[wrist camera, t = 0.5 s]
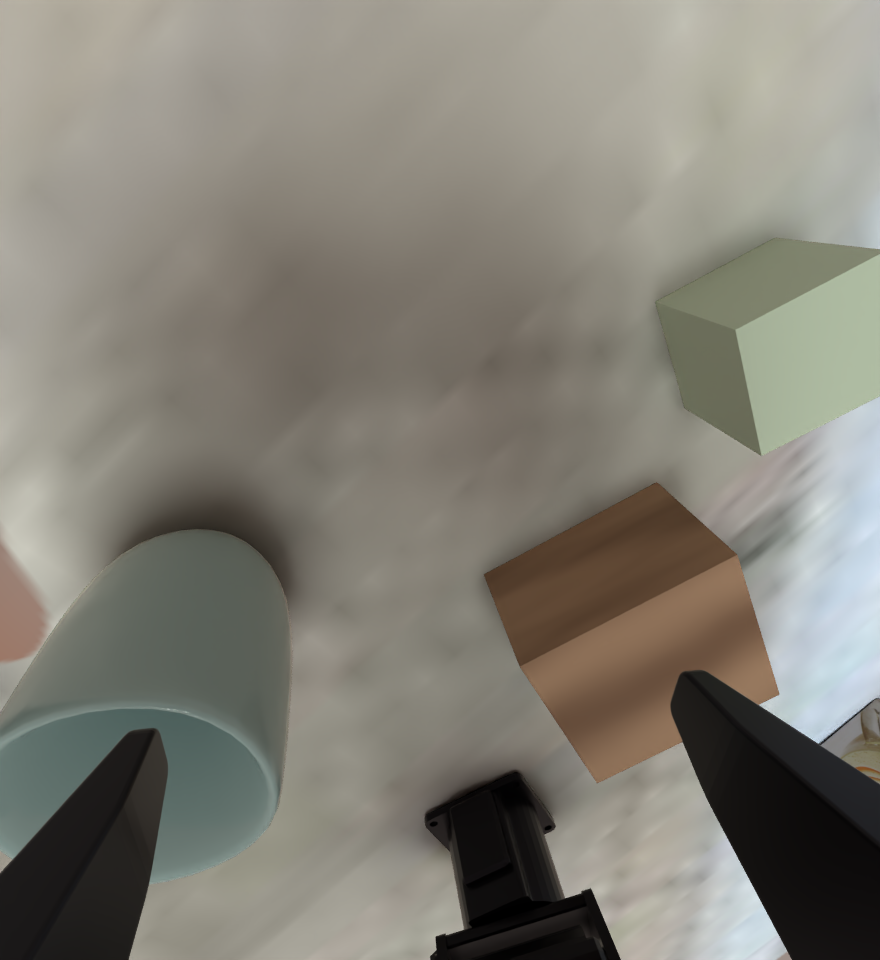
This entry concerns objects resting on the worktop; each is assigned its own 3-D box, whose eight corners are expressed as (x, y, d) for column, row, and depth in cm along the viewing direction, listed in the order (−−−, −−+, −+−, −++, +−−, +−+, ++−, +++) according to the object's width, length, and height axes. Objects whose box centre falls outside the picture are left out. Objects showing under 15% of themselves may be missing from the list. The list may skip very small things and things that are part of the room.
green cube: (791, 351, 24) (895, 388, 19) (683, 407, 24) (761, 455, 20) (773, 237, 21) (886, 250, 17) (654, 301, 22) (735, 329, 17)
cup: (257, 476, 22) (209, 663, 13) (323, 618, 26) (319, 838, 17) (64, 533, 22) (-115, 762, 13) (159, 668, 26) (69, 918, 17)
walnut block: (701, 606, 30) (779, 694, 25) (552, 681, 31) (597, 783, 26) (654, 480, 26) (737, 554, 20) (482, 571, 26) (519, 666, 21)
